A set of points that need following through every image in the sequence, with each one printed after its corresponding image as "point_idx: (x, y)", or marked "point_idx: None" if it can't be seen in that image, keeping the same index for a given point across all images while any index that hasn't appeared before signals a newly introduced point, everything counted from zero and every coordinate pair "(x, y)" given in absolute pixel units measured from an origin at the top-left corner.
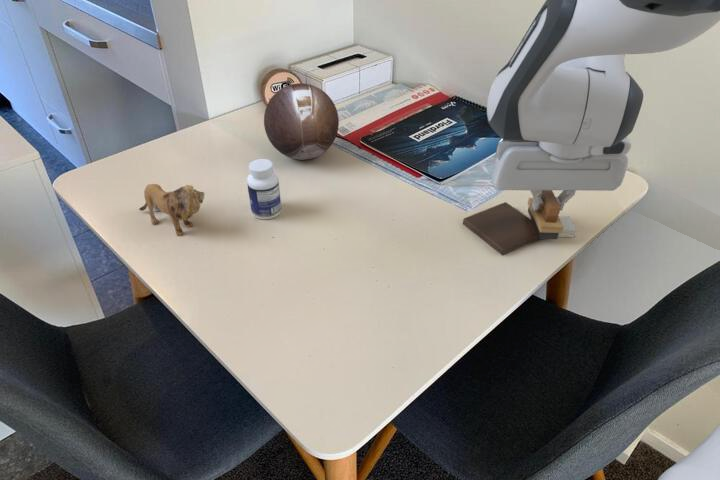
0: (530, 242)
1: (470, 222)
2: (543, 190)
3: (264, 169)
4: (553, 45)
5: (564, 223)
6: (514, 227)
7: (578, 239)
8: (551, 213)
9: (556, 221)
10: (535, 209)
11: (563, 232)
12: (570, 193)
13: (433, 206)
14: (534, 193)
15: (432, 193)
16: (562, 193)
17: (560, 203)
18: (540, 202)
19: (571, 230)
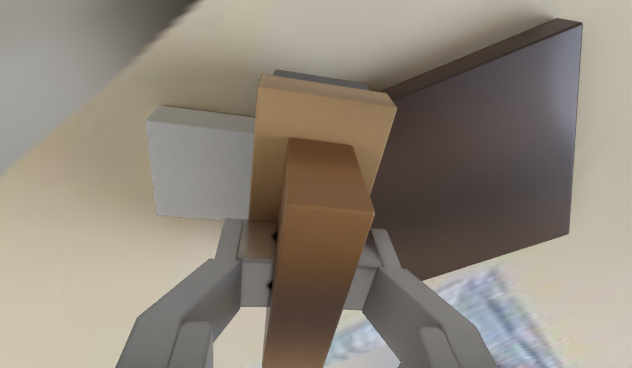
0: (384, 90)
1: (563, 214)
2: (319, 351)
3: None
4: None
5: (197, 174)
6: (425, 174)
7: (146, 87)
8: (342, 177)
9: (281, 146)
10: (384, 233)
11: (218, 122)
12: (173, 334)
13: (567, 289)
14: (470, 337)
15: (528, 330)
16: (214, 331)
17: (245, 257)
18: (374, 270)
19: (177, 123)
